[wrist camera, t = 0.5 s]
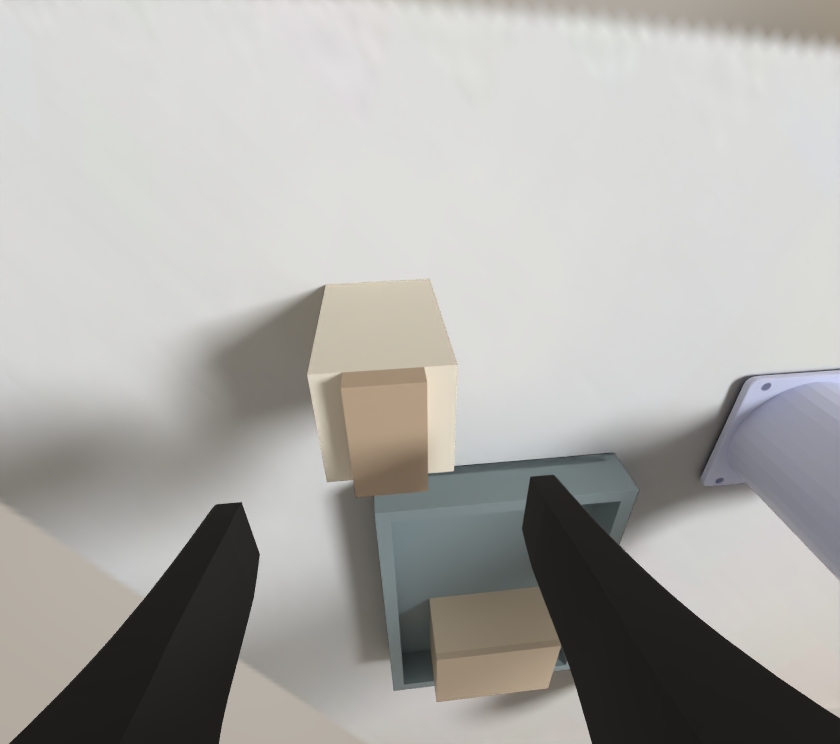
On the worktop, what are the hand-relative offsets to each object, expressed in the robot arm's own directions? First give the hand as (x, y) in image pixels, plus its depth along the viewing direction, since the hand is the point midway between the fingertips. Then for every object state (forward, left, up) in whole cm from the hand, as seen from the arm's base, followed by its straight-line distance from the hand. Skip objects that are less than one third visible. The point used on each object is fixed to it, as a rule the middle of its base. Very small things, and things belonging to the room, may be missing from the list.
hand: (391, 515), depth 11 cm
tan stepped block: (-6, +24, -10) cm, 27 cm away
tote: (-6, +19, -10) cm, 22 cm away
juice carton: (0, 0, -10) cm, 10 cm away
